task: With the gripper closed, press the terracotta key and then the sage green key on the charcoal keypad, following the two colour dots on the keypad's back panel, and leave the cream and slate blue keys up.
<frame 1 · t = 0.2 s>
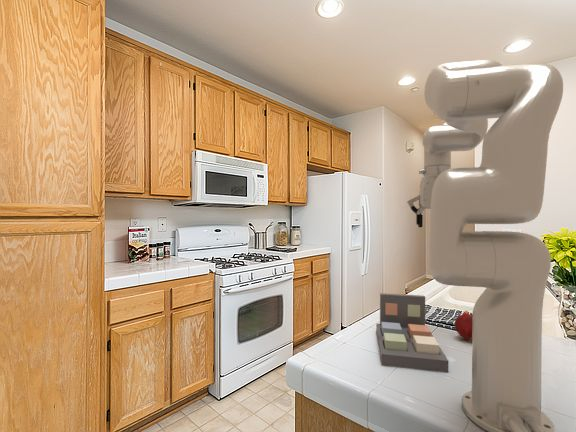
hand: (436, 227, 94), 31 cm above the countertop, tool pointing down, fingers open, 9 cm apart
terracotta key: (419, 332, 80), point 3 cm above the countertop, slide at 0.0 cm
slate key: (391, 330, 81), point 3 cm above the countertop, slide at 0.0 cm
cream key: (425, 345, 72), point 3 cm above the countertop, slide at 0.0 cm
red spiky ovoid: (466, 340, 83), on the countertop
sage key: (394, 342, 74), point 3 cm above the countertop, slide at 0.0 cm
keypad: (407, 349, 77), on the countertop
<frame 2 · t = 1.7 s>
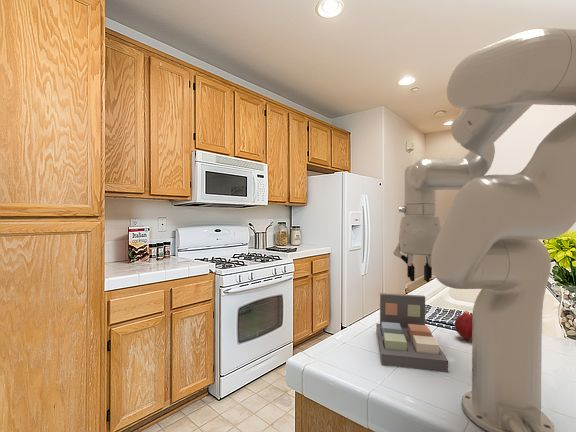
hand: (419, 280, 80), 17 cm above the countertop, tool pointing down, fingers open, 3 cm apart
nothing on the countertop moved.
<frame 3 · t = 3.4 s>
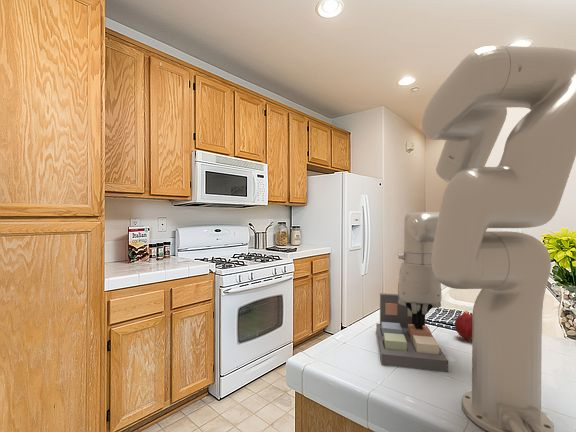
hand: (418, 327, 80), 5 cm above the countertop, tool pointing down, fingers closed
terracotta key: (419, 332, 80), point 3 cm above the countertop, slide at 0.0 cm, touching gripper
everything else where it was.
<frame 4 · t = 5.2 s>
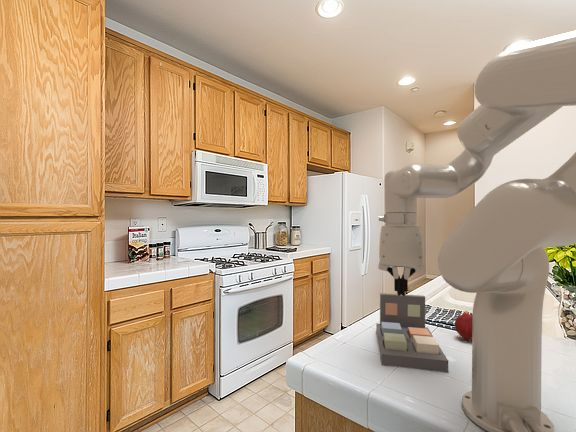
hand: (400, 294, 75), 15 cm above the countertop, tool pointing down, fingers closed
terracotta key: (419, 335, 80), point 2 cm above the countertop, slide at 0.9 cm
everything else where it was.
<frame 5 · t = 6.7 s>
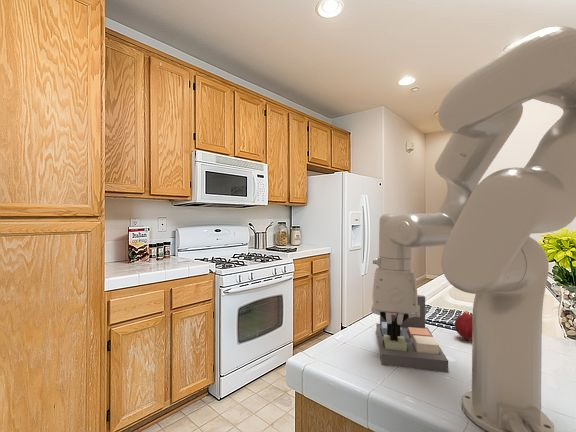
hand: (393, 338, 74), 4 cm above the countertop, tool pointing down, fingers closed
sage key: (394, 344, 74), point 3 cm above the countertop, slide at 0.5 cm, touching gripper
everything else where it was.
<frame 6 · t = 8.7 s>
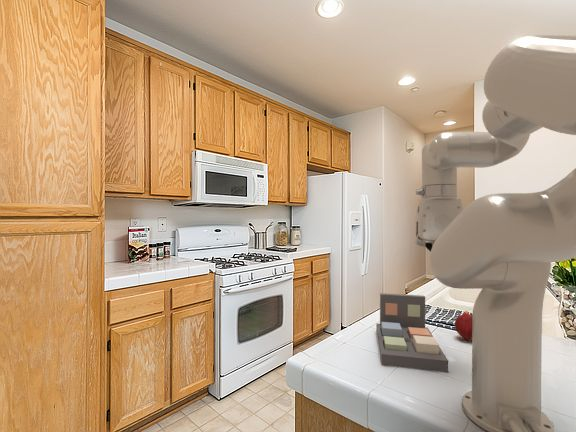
hand: (439, 270, 72), 21 cm above the countertop, tool pointing down, fingers closed
sage key: (394, 345, 74), point 2 cm above the countertop, slide at 0.9 cm
everything else where it was.
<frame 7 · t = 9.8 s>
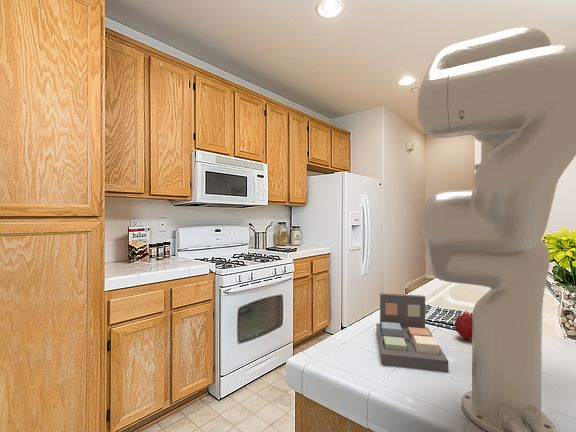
hand: (499, 246, 71), 27 cm above the countertop, tool pointing down, fingers closed
nothing on the countertop moved.
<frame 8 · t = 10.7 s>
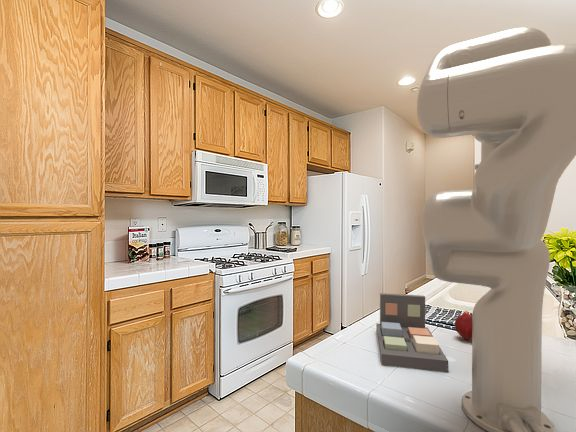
hand: (499, 246, 71), 27 cm above the countertop, tool pointing down, fingers closed
nothing on the countertop moved.
at the end: terracotta key slide at 0.9 cm; sage key slide at 0.9 cm; cream key slide at 0.0 cm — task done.
